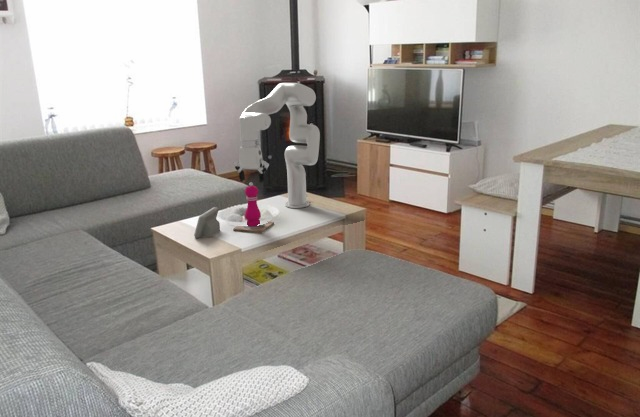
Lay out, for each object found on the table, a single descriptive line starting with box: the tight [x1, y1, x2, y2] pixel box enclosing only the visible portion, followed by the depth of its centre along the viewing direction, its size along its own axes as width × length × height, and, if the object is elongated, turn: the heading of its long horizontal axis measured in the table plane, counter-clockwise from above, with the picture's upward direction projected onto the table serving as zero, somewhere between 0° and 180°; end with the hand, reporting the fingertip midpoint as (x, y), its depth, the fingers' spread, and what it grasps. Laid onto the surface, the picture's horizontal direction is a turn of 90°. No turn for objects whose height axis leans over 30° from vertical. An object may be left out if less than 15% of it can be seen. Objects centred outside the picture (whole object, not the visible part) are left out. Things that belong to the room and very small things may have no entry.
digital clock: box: [193, 206, 221, 239], centre depth 239 cm, size 16×9×11 cm, turn 153°
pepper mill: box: [244, 182, 262, 227], centre depth 245 cm, size 7×7×20 cm
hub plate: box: [233, 221, 275, 234], centre depth 247 cm, size 14×14×1 cm
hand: (252, 181), depth 242 cm, fingers open, 9 cm apart
